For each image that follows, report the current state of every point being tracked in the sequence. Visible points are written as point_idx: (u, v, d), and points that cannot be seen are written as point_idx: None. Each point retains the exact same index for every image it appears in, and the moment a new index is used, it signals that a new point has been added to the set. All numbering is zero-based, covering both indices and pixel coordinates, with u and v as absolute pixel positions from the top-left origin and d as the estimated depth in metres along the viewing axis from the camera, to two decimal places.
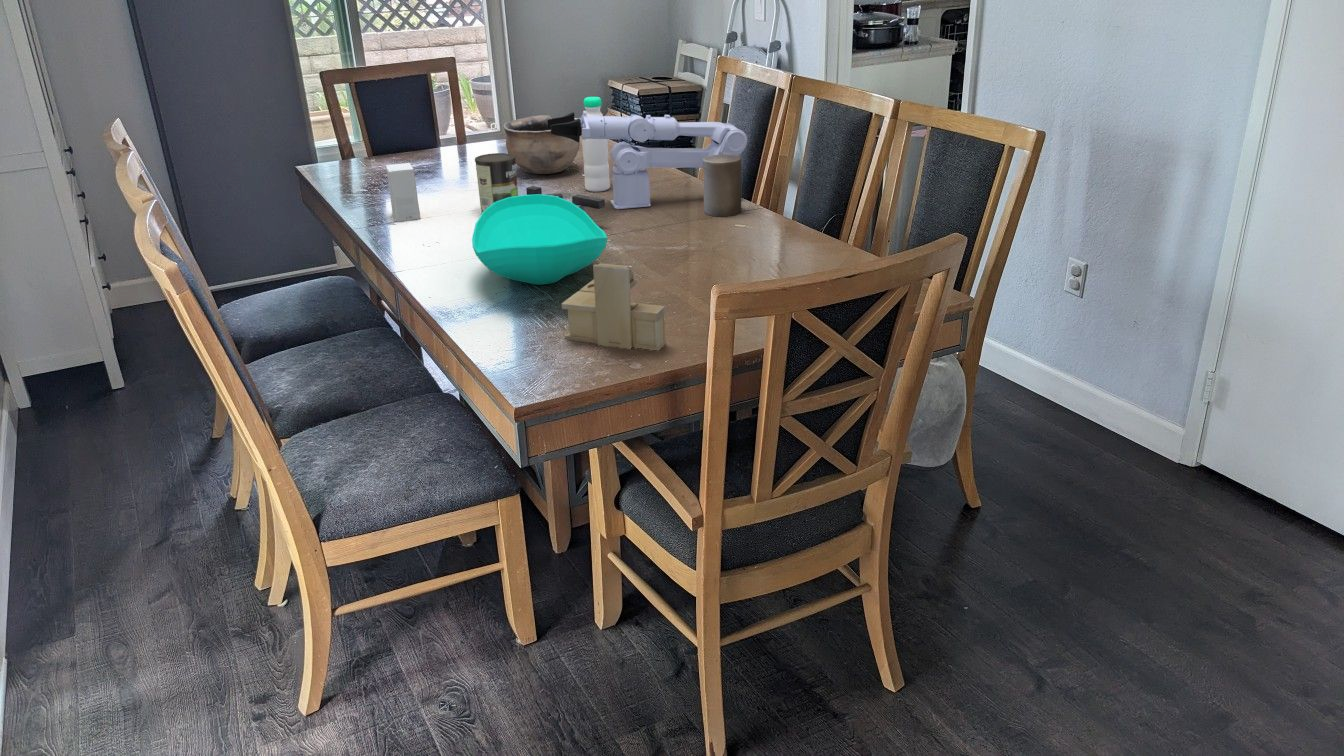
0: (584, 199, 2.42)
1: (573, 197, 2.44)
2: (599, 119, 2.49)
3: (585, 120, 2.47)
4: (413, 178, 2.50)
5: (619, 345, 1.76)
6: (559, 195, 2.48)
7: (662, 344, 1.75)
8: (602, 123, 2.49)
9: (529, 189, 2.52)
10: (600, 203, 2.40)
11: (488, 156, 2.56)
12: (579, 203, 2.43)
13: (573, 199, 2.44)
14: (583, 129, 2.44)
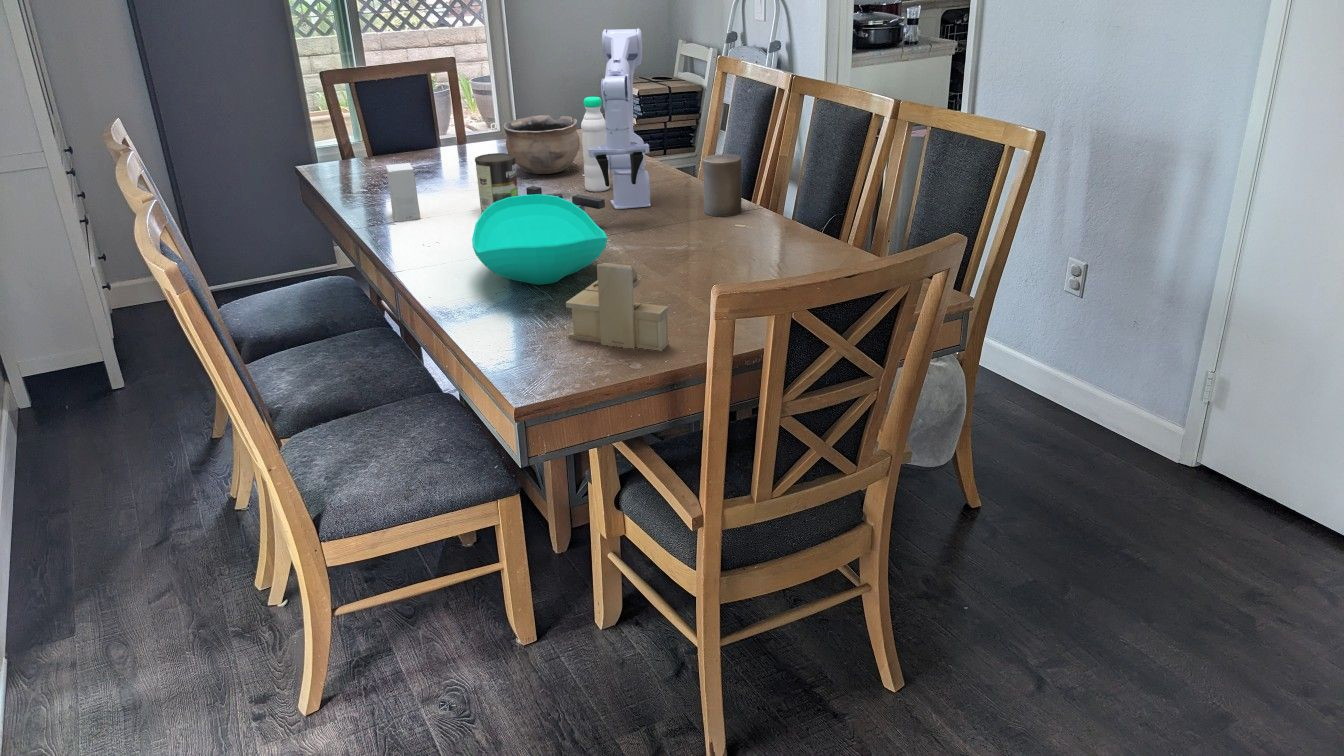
0: (584, 199, 2.42)
1: (573, 197, 2.44)
2: (626, 134, 2.34)
3: (632, 149, 2.36)
4: (413, 178, 2.50)
5: (622, 345, 1.76)
6: (559, 195, 2.48)
7: (665, 344, 1.75)
8: (629, 130, 2.35)
9: (529, 189, 2.52)
10: (600, 203, 2.40)
11: (488, 156, 2.56)
12: (579, 203, 2.43)
13: (573, 199, 2.44)
14: (648, 151, 2.39)
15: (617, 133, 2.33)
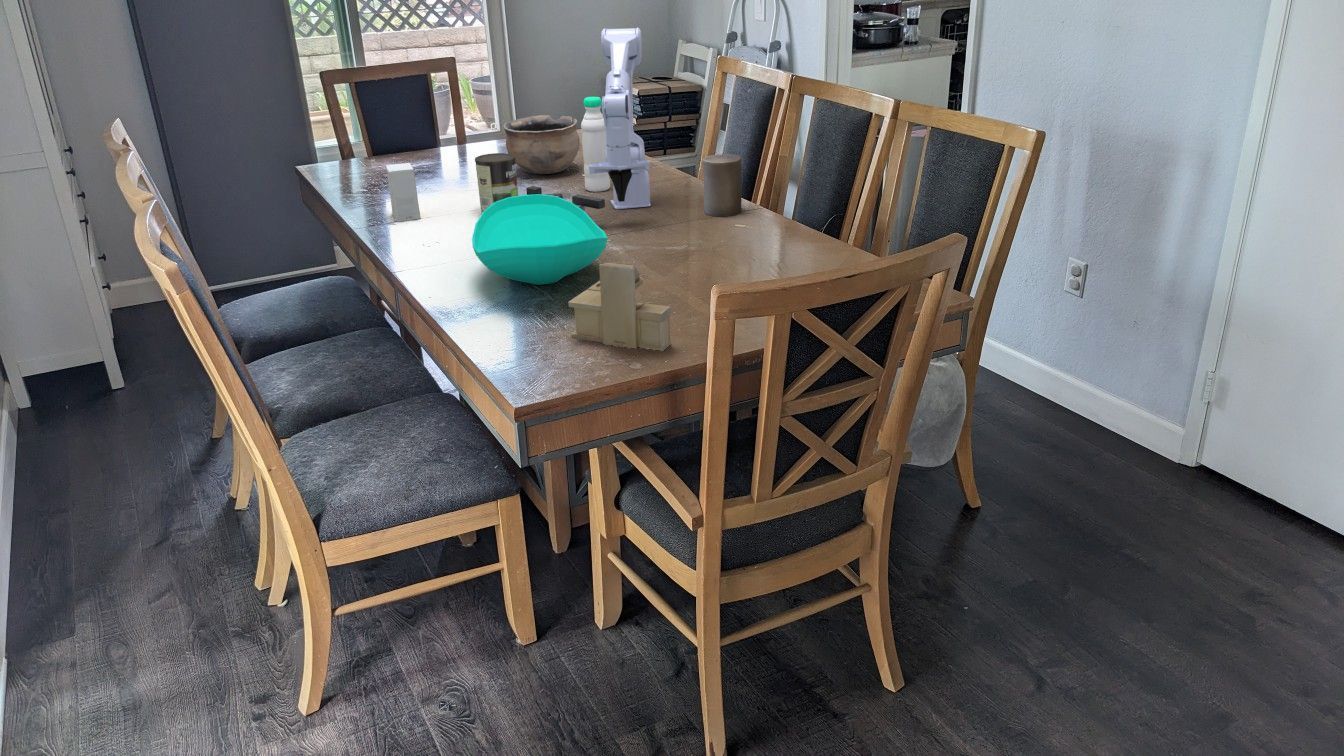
0: (584, 199, 2.42)
1: (573, 197, 2.44)
2: (627, 151, 2.36)
3: (632, 166, 2.38)
4: (413, 178, 2.50)
5: (624, 345, 1.76)
6: (559, 195, 2.48)
7: (667, 345, 1.75)
8: (629, 147, 2.37)
9: (529, 189, 2.52)
10: (600, 203, 2.40)
11: (488, 156, 2.56)
12: (579, 203, 2.43)
13: (573, 199, 2.44)
14: (649, 168, 2.41)
15: (618, 150, 2.35)
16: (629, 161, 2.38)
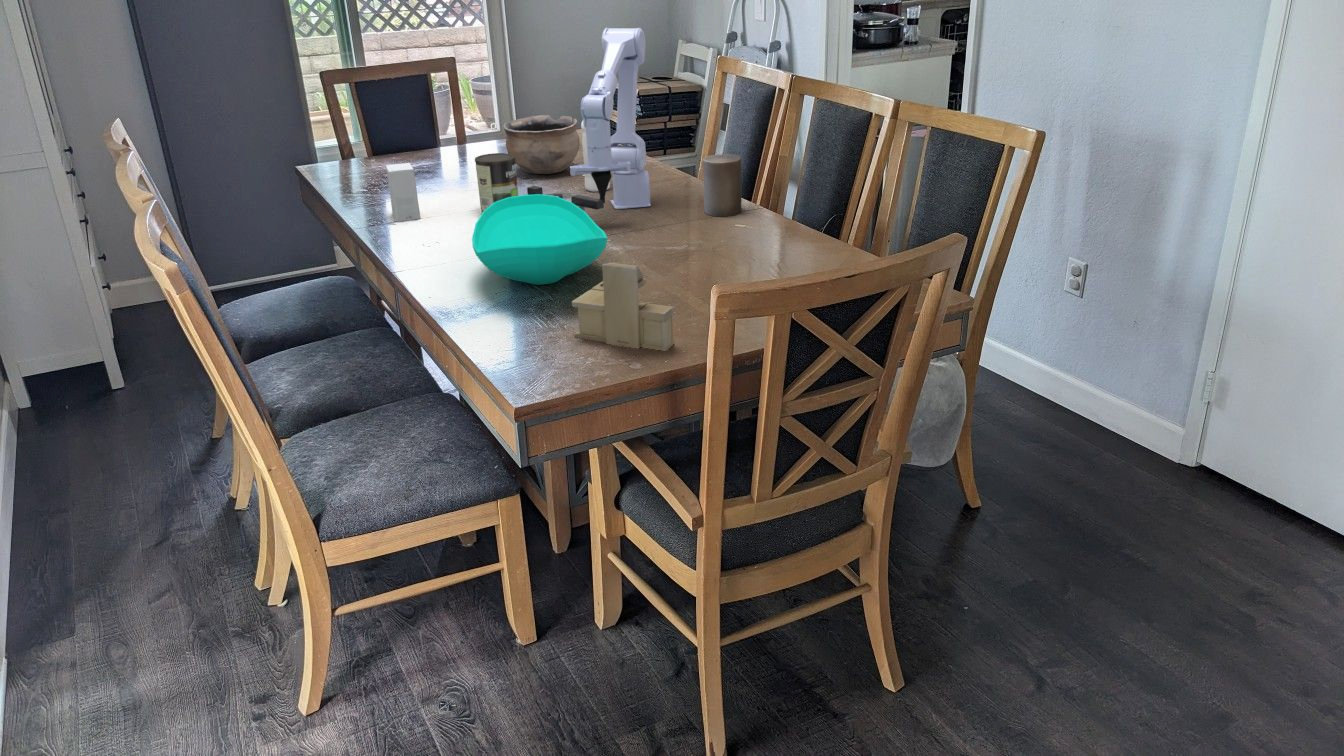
0: (583, 199, 2.42)
1: (572, 197, 2.44)
2: (607, 152, 2.35)
3: (613, 167, 2.37)
4: (413, 178, 2.50)
5: (627, 344, 1.76)
6: (559, 195, 2.48)
7: (670, 345, 1.75)
8: (610, 148, 2.36)
9: (530, 189, 2.52)
10: (599, 204, 2.40)
11: (488, 156, 2.56)
12: (578, 203, 2.43)
13: (572, 199, 2.44)
14: (630, 169, 2.40)
15: (598, 151, 2.34)
16: (610, 162, 2.37)
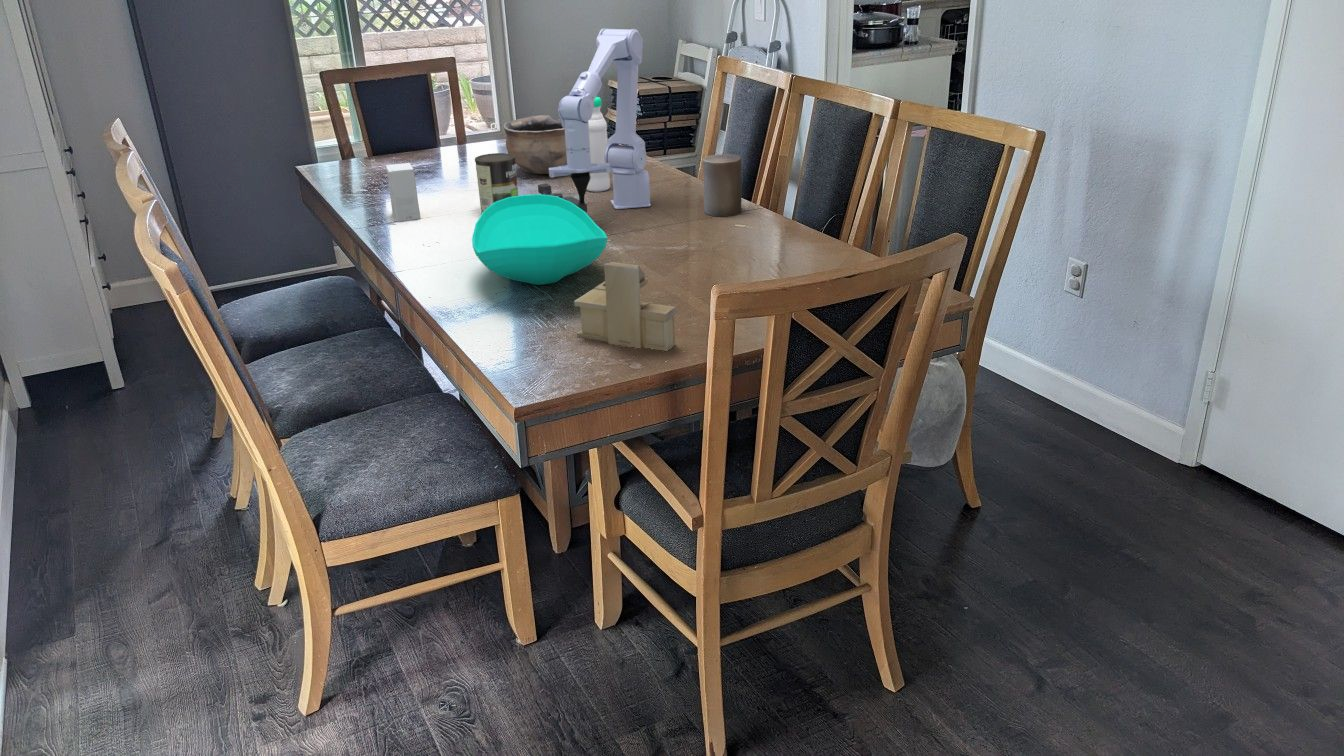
0: None
1: None
2: (586, 154, 2.34)
3: (592, 169, 2.36)
4: (413, 178, 2.50)
5: (629, 344, 1.76)
6: (558, 195, 2.48)
7: (671, 345, 1.75)
8: (589, 150, 2.35)
9: (539, 186, 2.54)
10: (581, 208, 2.37)
11: (488, 156, 2.56)
12: None
13: None
14: (609, 171, 2.39)
15: (577, 153, 2.33)
16: (589, 164, 2.36)
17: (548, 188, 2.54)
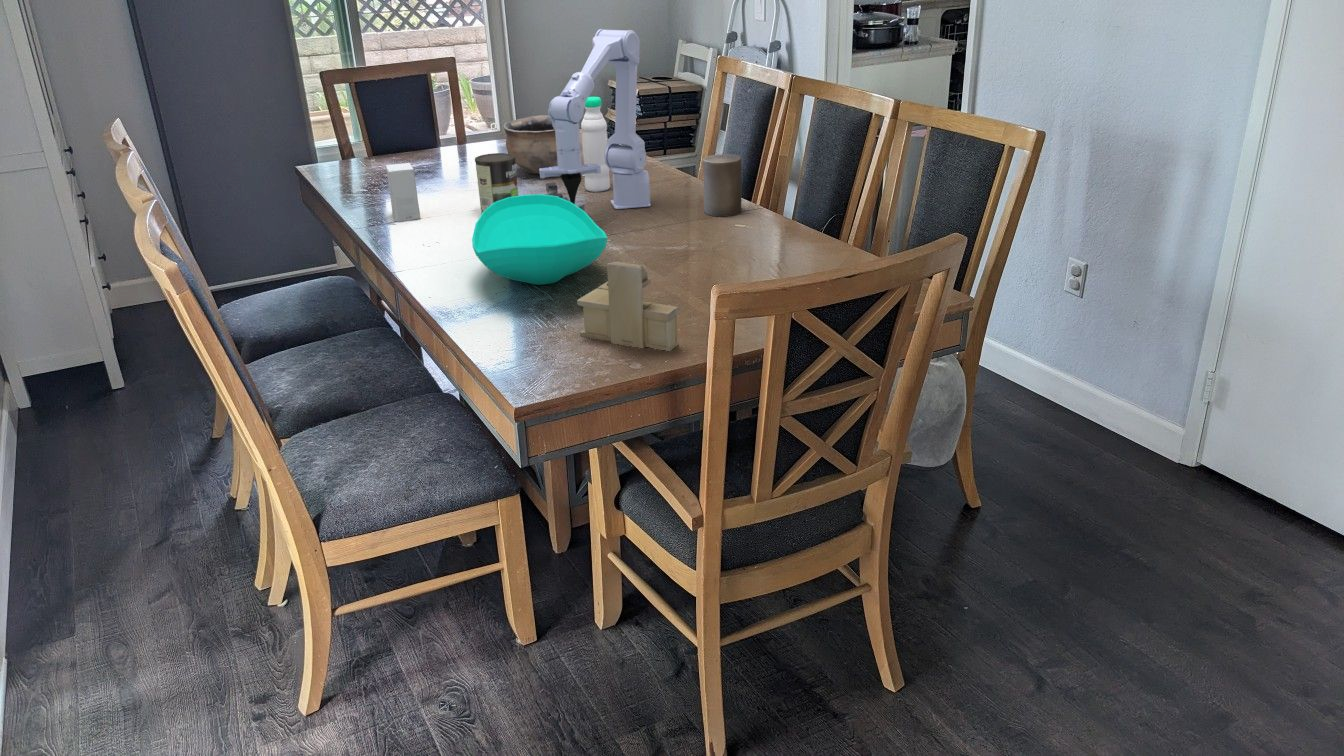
0: None
1: None
2: (577, 155, 2.34)
3: (583, 170, 2.36)
4: (413, 178, 2.50)
5: (631, 344, 1.76)
6: (558, 195, 2.48)
7: (674, 345, 1.75)
8: (579, 151, 2.34)
9: (546, 185, 2.55)
10: None
11: (488, 156, 2.56)
12: None
13: None
14: (600, 172, 2.38)
15: (567, 154, 2.33)
16: (579, 165, 2.36)
17: (554, 187, 2.54)
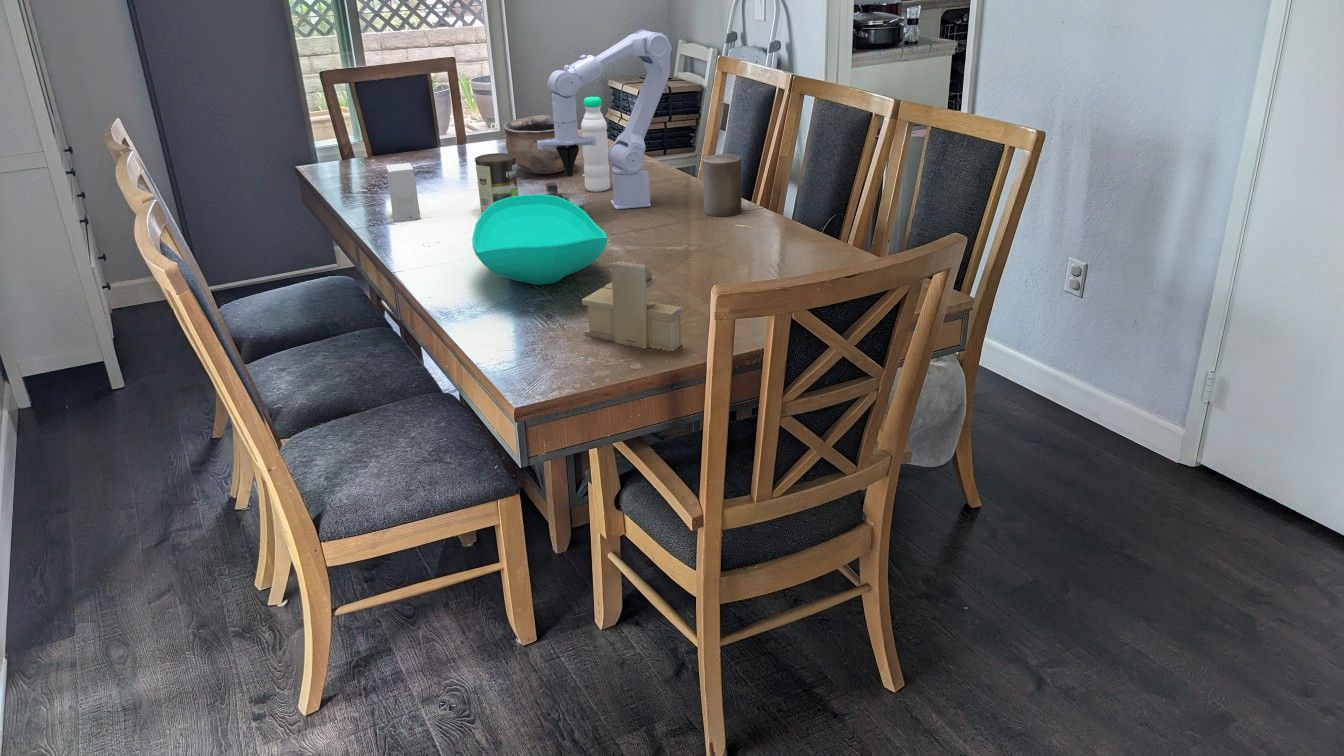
0: None
1: None
2: (573, 127, 2.44)
3: (579, 142, 2.46)
4: (413, 178, 2.50)
5: (635, 344, 1.76)
6: (558, 195, 2.48)
7: (677, 345, 1.75)
8: (576, 123, 2.45)
9: (546, 185, 2.55)
10: None
11: (488, 156, 2.56)
12: None
13: None
14: None
15: (564, 126, 2.43)
16: (576, 137, 2.46)
17: (554, 187, 2.54)
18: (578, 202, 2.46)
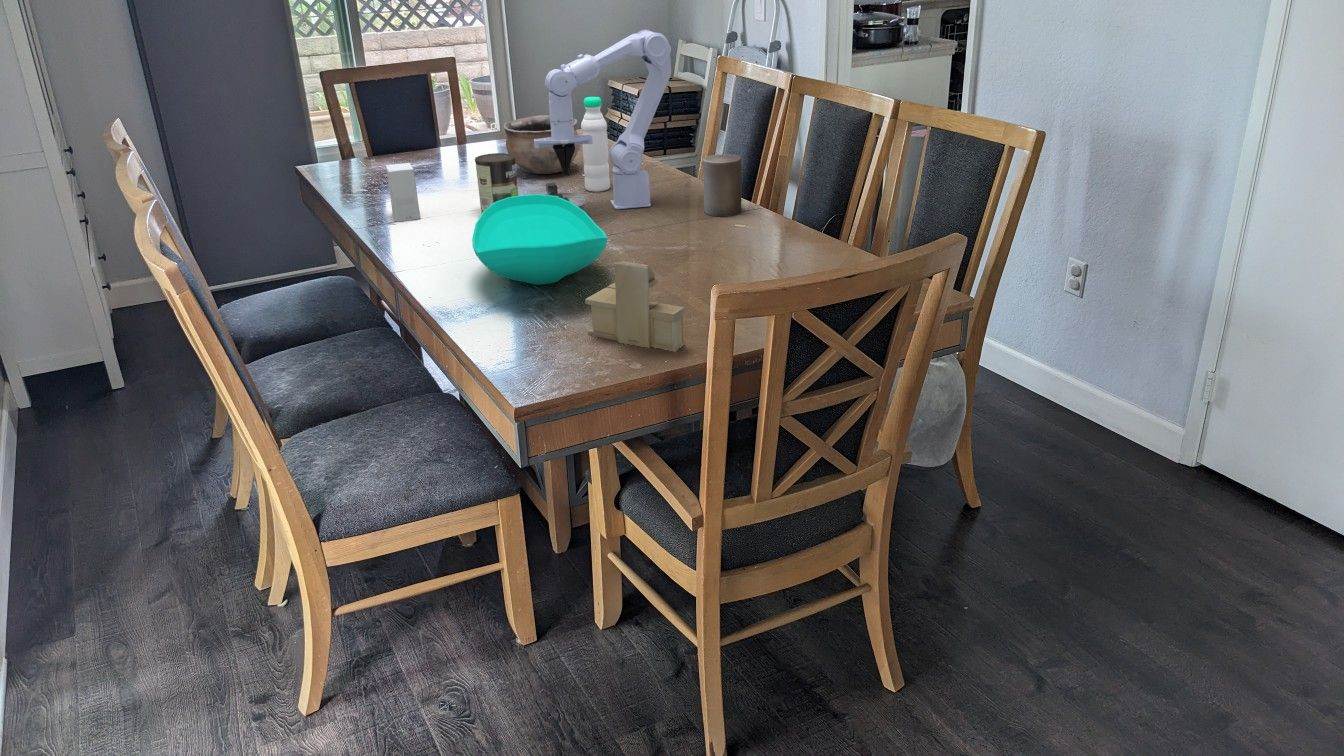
0: None
1: None
2: (569, 126, 2.46)
3: (575, 140, 2.47)
4: (413, 178, 2.50)
5: (637, 344, 1.76)
6: (558, 195, 2.48)
7: (680, 345, 1.74)
8: (572, 122, 2.46)
9: (546, 185, 2.55)
10: None
11: (488, 156, 2.56)
12: None
13: None
14: (592, 142, 2.50)
15: (561, 125, 2.45)
16: (572, 136, 2.47)
17: (554, 187, 2.54)
18: (578, 202, 2.46)
